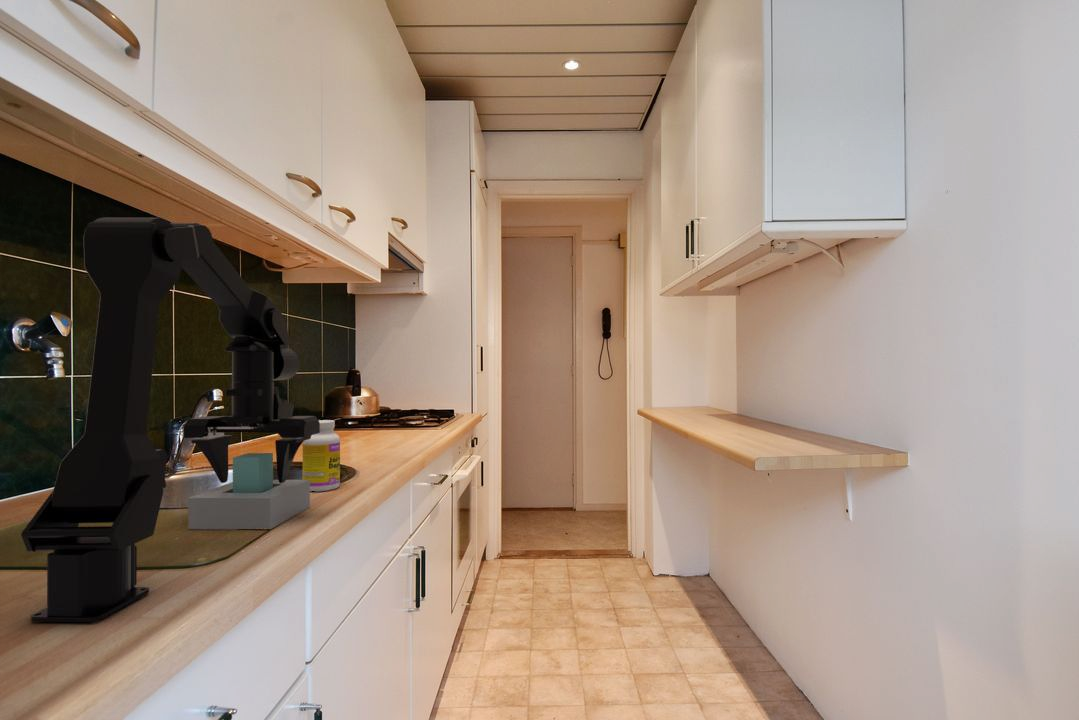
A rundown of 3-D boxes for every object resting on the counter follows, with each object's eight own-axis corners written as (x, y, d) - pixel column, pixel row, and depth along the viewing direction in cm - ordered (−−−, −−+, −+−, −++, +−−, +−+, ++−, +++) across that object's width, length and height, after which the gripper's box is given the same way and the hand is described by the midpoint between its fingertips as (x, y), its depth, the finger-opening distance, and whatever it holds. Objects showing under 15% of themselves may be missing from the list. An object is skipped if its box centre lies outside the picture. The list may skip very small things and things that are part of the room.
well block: (269, 529, 75) (269, 498, 75) (188, 529, 75) (188, 497, 75) (309, 506, 87) (309, 479, 87) (239, 506, 87) (239, 479, 87)
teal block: (258, 517, 79) (258, 457, 79) (232, 517, 79) (232, 457, 79) (273, 509, 83) (272, 453, 83) (248, 509, 83) (248, 453, 83)
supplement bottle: (331, 492, 96) (331, 423, 96) (295, 492, 96) (295, 423, 97) (345, 484, 103) (345, 419, 103) (312, 484, 103) (312, 419, 103)
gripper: (334, 380, 89) (334, 472, 89) (227, 380, 89) (227, 471, 89) (302, 382, 78) (302, 487, 77) (180, 382, 78) (180, 486, 78)
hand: (253, 482), depth 81 cm, fingers open, 9 cm apart
